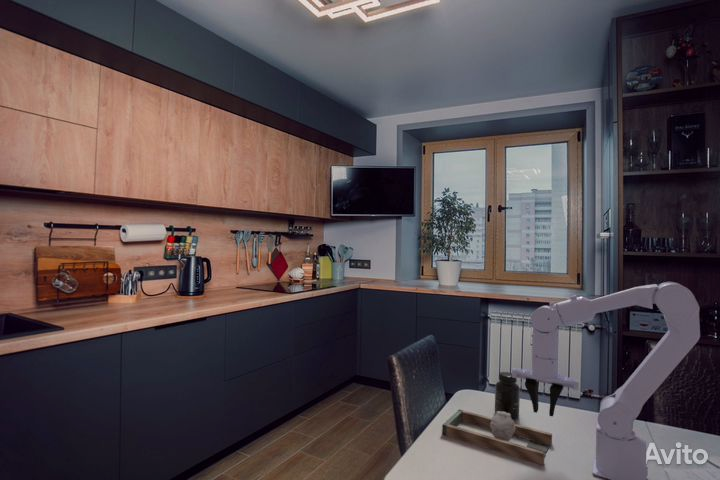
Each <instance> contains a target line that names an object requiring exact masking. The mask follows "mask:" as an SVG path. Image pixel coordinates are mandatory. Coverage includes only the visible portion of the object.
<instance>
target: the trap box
mask: <svg viewBox="0 0 720 480" xmlns="http://www.w3.org/2000/svg"><path fill="white" fill-rule="evenodd" d="M492 419H493V417H490V416H486V415H483V414H478V413H474V412H472V411H471V412H470V411H467V410H463V409H458V410H457V411H456V412H454V413H453V415H451V416H450V417H449V418H448V419H447V420H445V422H444V423H443V424H442V429H441V435H442V436H446V437H449V438H452V439H457V440H460V441H462V442H466V443H469V444H471V445H476V446H479V447H483V448H486V449H489V450H492V451H495V452H499V453H501V454H505V455H509V456H512V457H515V458H518V459H520V460H521V459H522V460H525V461H528V462H531V463H535V464H538V465H540V466H544V464H545V458H546V457H545V456H546V453H547V452H548V450H549V447H550V446H552V445H553V433H551V432H549V431H548V432H547V431H545V430H544V431H543V430H539V429H536V428H531V427H528V426H525V425H520V424H517V423H514V426H515V433H514V434H513V436H516V437H519V438H523V439H526V440H529V441H528V443H527V445H526V446H525V445H521V444H518V443H515V442H512V441H505V440H501V439H498V438H495V437H494V436H490V435H487V434H483V433H479V432H476V431H473V430H469V429H465V428H462V427H458V425H459V424H460V423H461V422H463V423H468V424H473V425H476V426H479V427H483V428H487V429H489V430H492V429H491V427H490V423H491V421H492Z"/></svg>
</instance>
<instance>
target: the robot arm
mask: <svg viewBox="0 0 720 480" xmlns="http://www.w3.org/2000/svg"><path fill="white" fill-rule="evenodd" d="M569 298H570V299H567V300H562V301H559V302H555V301H551V302H549V304H548V305H542V306H540V307H538V308H536V309H535V310H534V311H533V312H532V314H531V316H530V322H531V325H532V326H533V327H532V340H531V341H532V342H531V346H532V347H531V348H532V349H531V369H527V368H524V369H523V368H517V367H513V368H512V369H511V373H512V377H513V378H517V379H524V380H525V382H524V386H525V389H526V391H527V392H528V395H529V398H530V401H531V404H532V409H533V413H536V414H537V413H538V411H539V387H540V386H539V385H540V383H543V384H549V385H550V387H549V401H550V402H549V410H548V412H549V415H548V416H549V417H553V416H554V415H555V408H556V405H557V402H558V400H559V397H560V395H561V394H562V392H563V390H564V388H567V389H572V390H574V391H579V389H580V380H579V379H576V378H572V377H568V376H565V375H561V374H559V373H558V372H559V337H558V336H559V335H558V333H559V328H558V327H563V328H565V327H566V328H567V327H570V326H573V325H578V324H582V323H586V322H591V321H593V320H594V317H595V316H596V314H599V313H604V312H609V311H615V310H619V309H623V308H624V309H625V308H628V307H632V306H638V307H643V308H646V309H651V310H653V309H654V308H653V306H654V305H656V307H657V308H658V309H659V310H660V313H661V314H662V315H663V318H664V321H665V323H666V327H667V332H666V333H665V334H664V335H663V336H662V337H661V339H660V340H659V341H658V342H657V344H655V346H654V347H653V348H652V350H651V351H650V352H649V353H648V355H646V356H645V358H644V359H643V361H642V362H641V363H640V364H638V367H637V368H636V369H635V370H634V372H632V374H631V375H630V376H629V377H628V378H627V380H625V382H624V384H622V385H621V386H620V387H619V388H617V389H616V390H615V391H614V393H612V394H611V395H607V396H605V397H603V398H602V400H601V401H600V402H599V403H600V404H599V412H598V416H597V424H596V425H595V430H596V431H595V457H594V460H593V465H592V466H593V467H592V473H591V474H592V475H595V476H597V477H600V478H604V479H608V480H647V477H648V475H649V474H648V473H649V472H648V471H649V470H648V469H649V468H648V466H647V440H646V439H645V438H643V437H642V438H641V437H639V436H637V435H636V433H635V431H634V430H633V429H634V422H635V420H636V419H637V417H638V416H639V414H640V413H641V411H642V409H643V406H644V405H645V404H646V402H647V401H648V399H650V398H651V396H652V395H653V394H654V393H655V392H656V390H657V389H658V388H659V387H660V386H661V385H662V383H664V382H665V380H666V379H667V377H668V376H669V375H670V374H671V373H672V372H673V371H674V369H676V367H677V366H678V365H679V364H680V363H681V361H682V360H683V359H684V358H685V357H686V355H687V354H688V353H689V352H690V351H691V350H692V349H693V347H694V346H696V344H697V343H698V342H699V339H700V338H701V329H700V328H701V325H700V306H699V303H698V301H697V299H696V297H695V295H694V294H693V292H692V291H691V290H690V289H689V288H688V287H686V286H684V285H682V284H680V283H679V282H673V281H665V282H662V283H660V284H657V283H654V284H653V283H651V284H646V285H639V286H634V287H631V288H628V289H624V290H620V291H618V292H617V291H616V292H614V293H611V294H607V295H604V296H599V297H597V298H594V299H590V298H587V297H584V296H578V295H572V296H570V297H569ZM653 304H654V305H653Z"/></svg>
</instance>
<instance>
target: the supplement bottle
mask: <svg viewBox="0 0 720 480" xmlns="http://www.w3.org/2000/svg"><path fill="white" fill-rule="evenodd" d="M517 379H518V378H513V377H512V372H508V371H501V372H499V374H498V381H497V382H496V383H495V385H494V415H495V414H496V412H497V411H500V412H502V411H503V412H506V413H509V414H511V418H512V419H513V421H514V420H517V419H518V418H519V417H520V400H521V399H520V398H521V396H520V395H521V388H520V386H519V384H518V383H517V382H518V380H517Z"/></svg>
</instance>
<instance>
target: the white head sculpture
mask: <svg viewBox="0 0 720 480" xmlns="http://www.w3.org/2000/svg"><path fill="white" fill-rule="evenodd" d="M492 418H493V419H492V421H491V423H490V427H491V429H490V430H491V433H492V437H494V438H498V439H501V440H505V441H508V442H510V441H511V440H512V438H513V436H514V435H513V434H514V433H515V426H514V424H515V421H514V420H513V419H512V418H511V414H509V413H506V412H503V411H502V412H500V411H497V412H496V414H495V413H494V415H493V416H492Z"/></svg>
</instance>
